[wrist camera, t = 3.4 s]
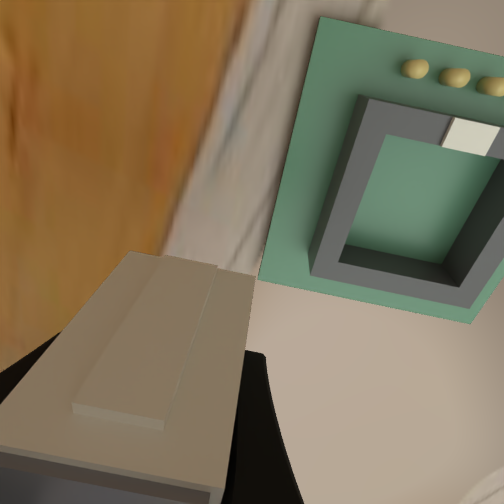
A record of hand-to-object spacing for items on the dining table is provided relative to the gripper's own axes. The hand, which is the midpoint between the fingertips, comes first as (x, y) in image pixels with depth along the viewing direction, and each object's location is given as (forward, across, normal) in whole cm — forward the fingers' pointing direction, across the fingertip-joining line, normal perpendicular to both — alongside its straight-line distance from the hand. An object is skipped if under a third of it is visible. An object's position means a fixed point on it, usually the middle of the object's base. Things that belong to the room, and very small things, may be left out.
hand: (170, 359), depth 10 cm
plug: (+2, 0, 0) cm, 2 cm away
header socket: (+9, -8, -4) cm, 13 cm away
